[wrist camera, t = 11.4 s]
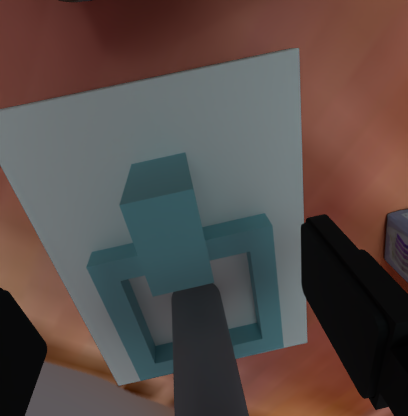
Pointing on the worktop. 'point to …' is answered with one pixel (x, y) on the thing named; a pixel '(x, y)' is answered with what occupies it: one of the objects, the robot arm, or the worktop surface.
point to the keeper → (204, 192)
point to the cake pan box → (397, 242)
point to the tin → (74, 0)
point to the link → (181, 262)
